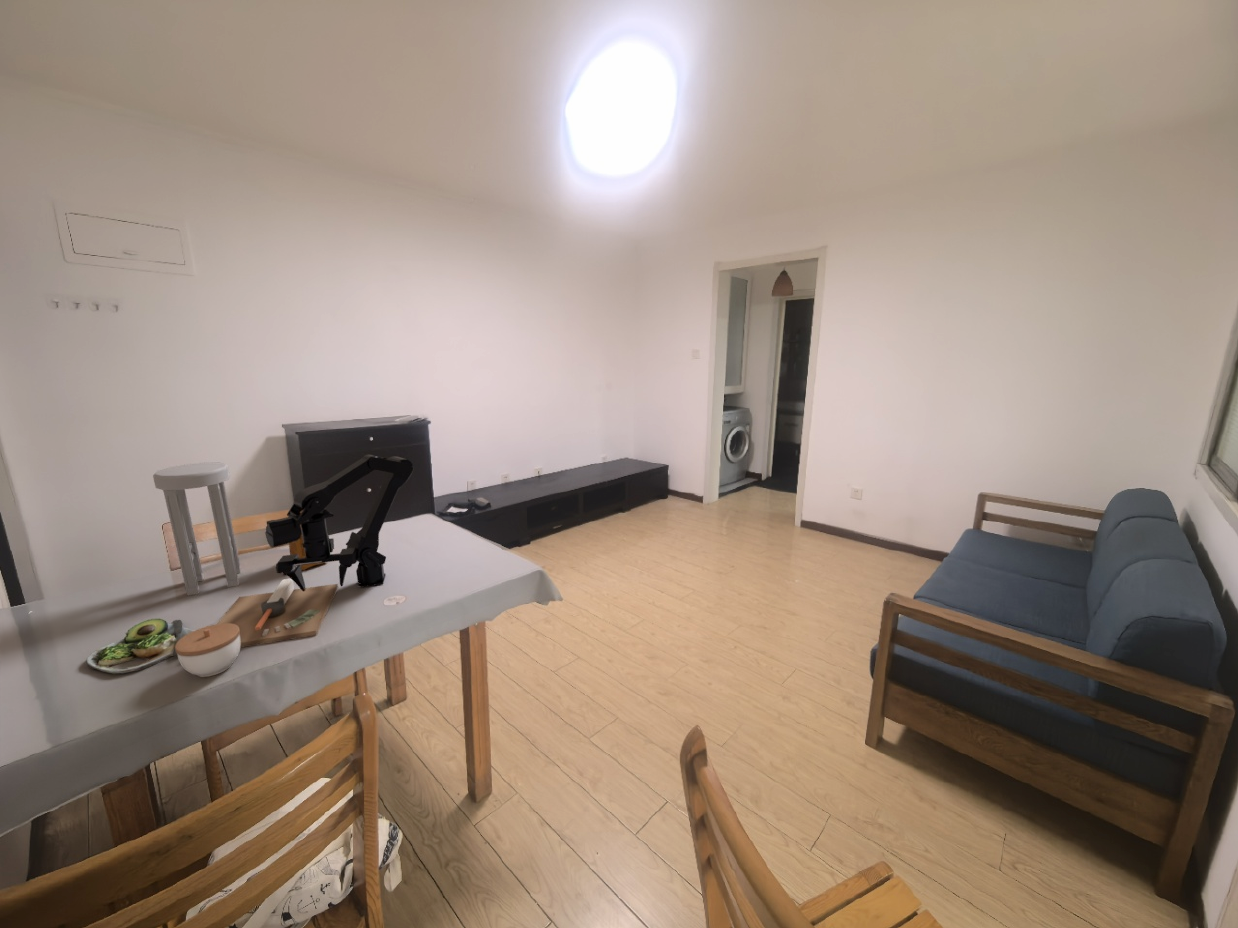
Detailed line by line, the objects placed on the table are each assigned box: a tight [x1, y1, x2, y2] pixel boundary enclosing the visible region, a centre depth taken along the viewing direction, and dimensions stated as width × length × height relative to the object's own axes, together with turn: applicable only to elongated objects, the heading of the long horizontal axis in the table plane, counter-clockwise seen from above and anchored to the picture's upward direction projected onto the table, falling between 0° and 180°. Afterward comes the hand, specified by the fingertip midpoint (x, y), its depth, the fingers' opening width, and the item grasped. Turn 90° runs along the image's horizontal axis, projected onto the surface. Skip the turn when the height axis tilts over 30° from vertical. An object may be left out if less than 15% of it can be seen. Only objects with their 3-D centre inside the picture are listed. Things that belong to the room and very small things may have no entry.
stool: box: [152, 462, 242, 596], centre depth 139 cm, size 16×16×35 cm
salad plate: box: [85, 618, 194, 674], centre depth 111 cm, size 19×18×5 cm
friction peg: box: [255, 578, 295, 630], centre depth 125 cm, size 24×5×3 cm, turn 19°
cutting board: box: [216, 583, 339, 648], centre depth 126 cm, size 24×25×2 cm
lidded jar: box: [175, 623, 242, 678], centre depth 105 cm, size 11×11×9 cm
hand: (323, 588), depth 134 cm, fingers open, 9 cm apart
